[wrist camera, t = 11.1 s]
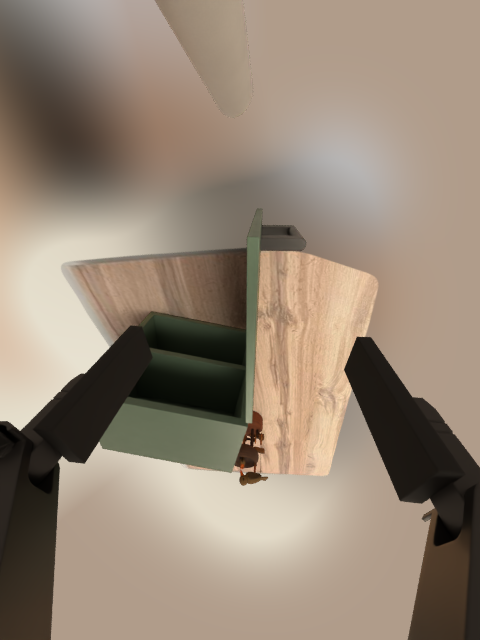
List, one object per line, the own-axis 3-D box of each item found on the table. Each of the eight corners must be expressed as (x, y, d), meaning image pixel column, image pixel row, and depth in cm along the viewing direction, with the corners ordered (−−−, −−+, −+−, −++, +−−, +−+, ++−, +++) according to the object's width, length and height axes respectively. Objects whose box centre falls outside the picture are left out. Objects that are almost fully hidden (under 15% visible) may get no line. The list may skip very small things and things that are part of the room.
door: (295, 208, 35) (337, 237, 15) (280, 330, 50) (291, 427, 30) (256, 208, 36) (246, 236, 16) (253, 329, 50) (245, 423, 30)
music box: (266, 409, 68) (268, 483, 53) (267, 424, 75) (268, 494, 60) (222, 408, 70) (211, 478, 55) (227, 422, 77) (217, 489, 61)
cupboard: (151, 311, 51) (76, 394, 30) (254, 331, 51) (247, 426, 31) (156, 361, 61) (102, 448, 40) (242, 377, 61) (231, 473, 41)
